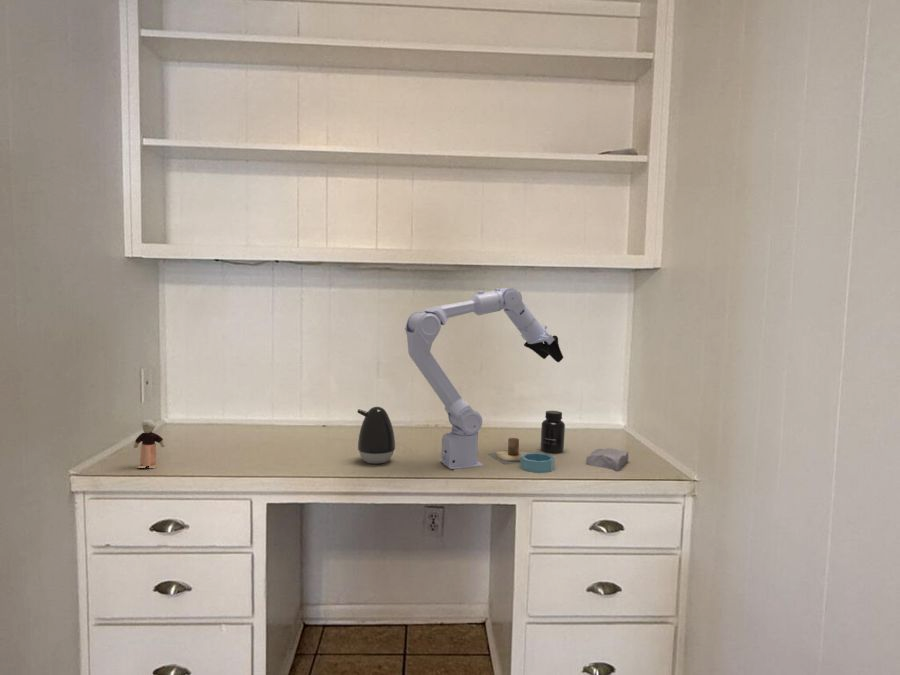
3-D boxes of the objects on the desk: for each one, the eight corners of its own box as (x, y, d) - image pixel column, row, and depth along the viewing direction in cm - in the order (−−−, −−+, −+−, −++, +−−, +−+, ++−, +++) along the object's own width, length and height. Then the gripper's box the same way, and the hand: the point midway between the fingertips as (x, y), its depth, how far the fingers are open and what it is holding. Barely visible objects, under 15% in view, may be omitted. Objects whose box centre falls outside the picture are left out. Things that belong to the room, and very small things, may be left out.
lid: (505, 463, 168) (506, 444, 168) (490, 454, 177) (490, 436, 177) (536, 460, 172) (537, 441, 172) (520, 451, 181) (520, 434, 180)
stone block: (584, 473, 169) (621, 472, 164) (581, 455, 169) (618, 454, 164) (596, 464, 179) (631, 463, 174) (594, 448, 179) (628, 446, 174)
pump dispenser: (359, 455, 174) (360, 402, 173) (396, 456, 174) (397, 403, 173) (354, 466, 164) (354, 410, 163) (393, 467, 164) (393, 410, 163)
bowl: (530, 475, 160) (531, 462, 159) (515, 466, 167) (516, 454, 167) (559, 472, 163) (559, 460, 162) (542, 463, 170) (543, 452, 170)
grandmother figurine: (131, 470, 157) (130, 421, 156) (134, 466, 160) (133, 418, 159) (164, 468, 159) (163, 420, 158) (166, 464, 162) (166, 417, 161)
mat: (504, 465, 168) (504, 464, 168) (487, 455, 178) (487, 453, 178) (539, 462, 172) (539, 460, 172) (521, 452, 182) (521, 450, 182)
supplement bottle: (546, 455, 179) (547, 414, 178) (536, 449, 185) (538, 410, 184) (567, 454, 180) (569, 413, 179) (557, 448, 187) (559, 409, 186)
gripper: (549, 314, 166) (576, 351, 170) (523, 312, 179) (549, 346, 183) (531, 332, 164) (559, 369, 169) (506, 328, 178) (533, 362, 182)
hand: (553, 358), depth 176 cm, fingers open, 7 cm apart
